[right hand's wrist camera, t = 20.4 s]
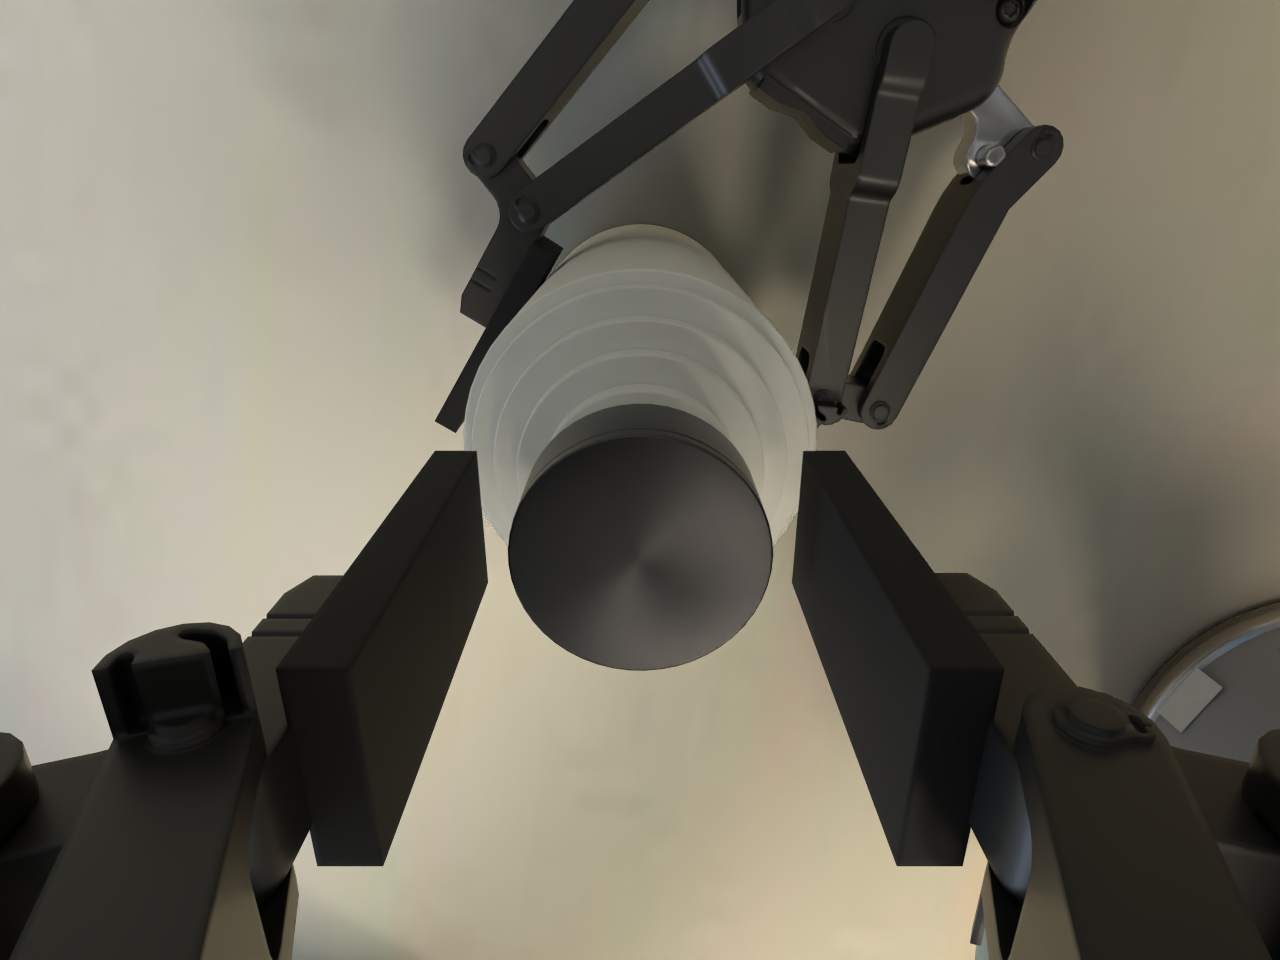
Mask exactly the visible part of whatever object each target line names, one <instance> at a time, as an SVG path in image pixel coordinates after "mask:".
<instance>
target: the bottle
mask: <svg viewBox="0 0 1280 960" xmlns="http://www.w3.org/2000/svg"><path fill="white" fill-rule="evenodd" d="M626 404H655V405H662V406H668V407H672V408H675V409H679V410H682V411H685V412H687V413H690V414H692V415H694V416H697V417H699V418H700V419H702V420H704V421H705V422H707V423H709V424H710V425H712V426H713V427H714V428H716V429H717V430H718V431H720V432H721V433H722V434H723V435H724V436H725V437H726V438H727V439H728V440H729V441H730V442H731V443H732V444H733V445H734V446H735V447H736V449H737V450H738V452H739V453H740V454H741V456H742V457H743V459H744V461H745V463H746V464H747V466H748V468H749V470H750V473H751V475H752V478H753V481H754V483H755V486H756V489H757V492H758V494H759V497H760V500H761V503H762V505H763V508H764V511H765V514H766V516H767V519H768V522H769V525H770V530H771V536H772V544H773V545H774V544H775V543H776V542H777V541H778V539H779V538H780V537H781V536H782V534H783V533H784V532H785V531H786V529H787V528H788V527H789V525H790V523H791V522H792V520H793V518H794V517H795V515H796V513H797V512H798V506H799V495H800V483H801V471H802V459H803V451H816V448H817V422H816V415H815V408H814V402H813V398H812V395H811V391H810V388H809V384H808V381H807V379H806V376H805V374H804V372H803V370H802V367H801V365H800V363H799V361H798V359H797V357H796V356H795V354H794V353H793V351H792V349H791V348H790V346H789V345H788V343H787V341H786V340H785V339H784V338H783V336H782V335H781V334H780V333H779V332H778V330H777V329H776V328H775V327H774V326H773V325H772V323H771V322H770V321H769V320H768V319H767V318H766V316H765V315H764V314H763V313H762V312H761V311H760V310H759V308H758V307H757V306H756V305H755V304H754V303H753V301H752V300H751V299H750V298H749V297H748V296H747V294H746V293H745V292H744V291H743V290H742V289H741V288H740V286H739V285H738V284H737V283H736V282H735V281H734V279H733V278H732V277H731V276H730V275H729V274H728V273H727V271H726V270H725V269H724V268H723V267H722V266H721V264H720V263H719V262H718V261H717V260H716V259H715V257H714V256H713V255H712V254H711V253H710V252H709V251H708V250H706V249H705V248H704V247H703V246H702V245H701V244H699V243H698V242H696V241H695V240H693V239H692V238H690V237H688V236H686V235H684V234H682V233H680V232H678V231H675V230H672V229H669V228H666V227H661V226H656V225H647V224H634V225H624V226H619V227H615V228H611V229H608V230H606V231H603V232H600V233H598V234H596V235H594V236H592V237H591V238H589V239H587V240H585V241H584V242H583V243H581V244H580V245H579V246H577V247H576V248H575V249H574V250H573V251H572V252H571V253H570V254H569V255H568V256H567V257H566V258H565V259H564V260H563V261H562V262H561V264H560V265H559V266H558V267H557V268H556V269H555V270H554V272H553V273H552V274H551V275H550V276H549V277H548V279H547V280H546V281H545V282H544V283H543V284H542V286H541V287H540V288H539V289H538V290H537V291H536V292H535V294H534V295H533V296H532V297H531V298H530V299H529V301H528V302H527V303H526V304H525V305H524V306H523V308H522V309H521V310H520V311H519V312H518V313H517V314H516V316H515V317H514V318H513V319H512V320H511V321H510V323H509V324H508V325H507V326H506V327H505V328H504V330H503V331H502V332H501V334H500V335H499V336H498V338H497V339H496V340H495V341H494V343H493V344H492V345H491V347H490V348H489V350H488V352H487V354H486V355H485V357H484V359H483V361H482V363H481V364H480V366H479V368H478V371H477V373H476V376H475V379H474V381H473V384H472V386H471V389H470V393H469V398H468V402H467V406H466V411H465V422H464V451H477V459H478V471H479V483H480V495H481V506H482V510H483V512H484V514H485V516H486V517H487V519H488V521H489V522H490V524H491V525H492V527H493V528H494V530H495V531H496V533H497V534H498V535H499V536H500V537H501V539H502V540H503V541H504V542H505V543H506V544H507V546H508V544H509V534H510V530H511V526H512V522H513V518H514V516H515V513H516V510H517V507H518V505H519V502H520V499H521V496H522V494H523V491H524V488H525V485H526V483H527V480H528V477H529V475H530V473H531V470H532V468H533V466H534V464H535V462H536V461H537V459H538V457H539V456H540V454H541V453H542V451H543V450H544V449H545V448H546V446H547V445H548V444H549V443H550V441H551V440H553V439H554V438H555V437H556V436H557V435H558V434H559V433H560V432H561V431H562V430H564V429H565V428H567V427H568V426H569V425H571V424H572V423H574V422H575V421H577V420H579V419H581V418H583V417H585V416H586V415H588V414H591V413H594V412H596V411H599V410H602V409H605V408H609V407H614V406H618V405H626Z"/></svg>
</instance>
